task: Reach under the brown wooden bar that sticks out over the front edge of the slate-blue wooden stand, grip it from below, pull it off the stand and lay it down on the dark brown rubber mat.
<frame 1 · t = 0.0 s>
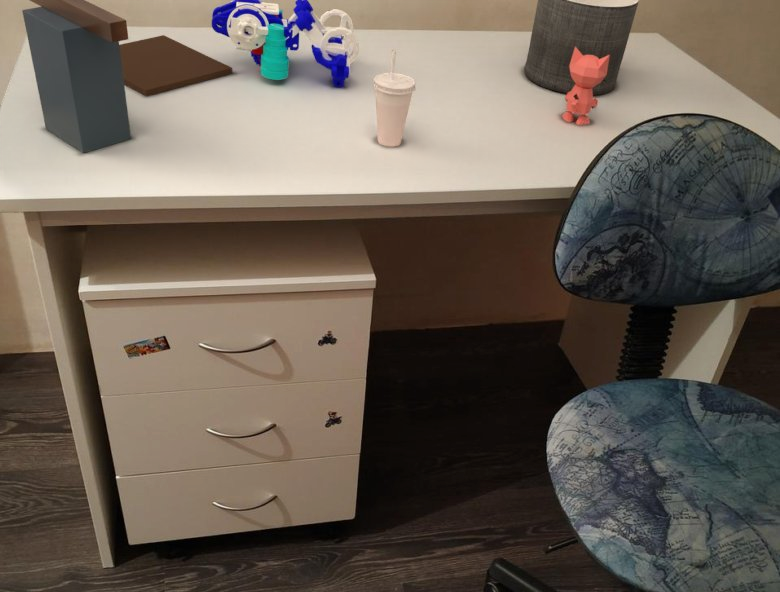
smoothie: (389, 142, 127), on the table
cat figurine: (574, 121, 140), on the table
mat: (155, 66, 142), on the table
planter: (569, 79, 156), on the table
robot toy: (285, 73, 145), on the table
brown wooden bar: (77, 19, 108), point 17 cm above the table, touching stand
stand: (88, 134, 120), on the table
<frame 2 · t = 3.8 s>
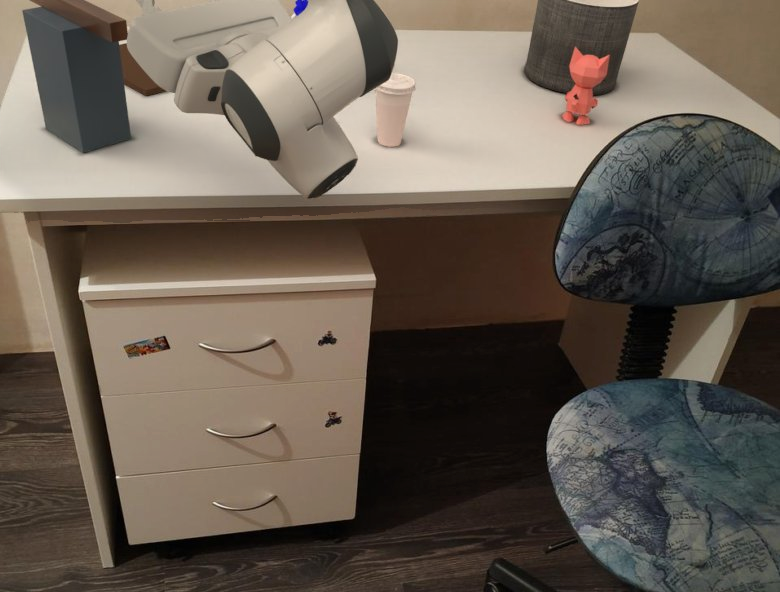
nothing on the table moved.
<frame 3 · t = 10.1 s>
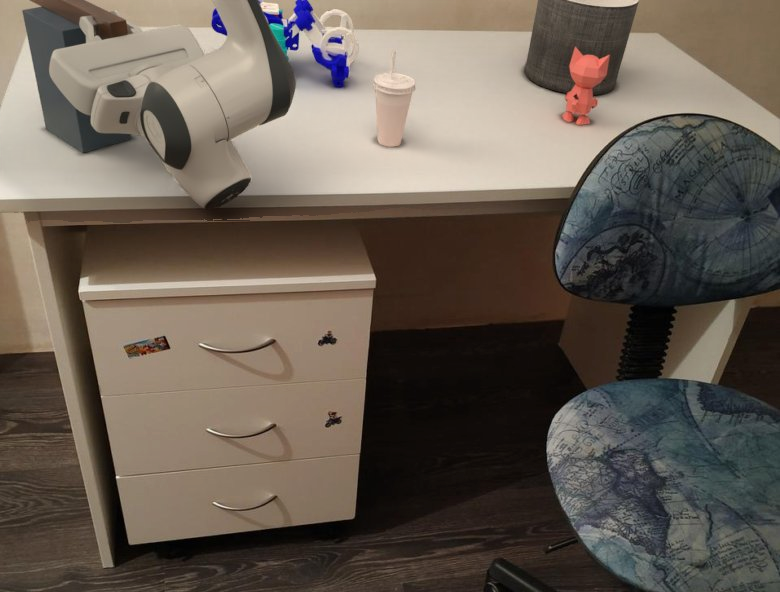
hand: (97, 17, 104), 18 cm above the table, tool pointing upward, fingers closed on brown wooden bar, 2 cm apart
brown wooden bar: (77, 19, 108), point 17 cm above the table, touching gripper, stand
everything else where it was.
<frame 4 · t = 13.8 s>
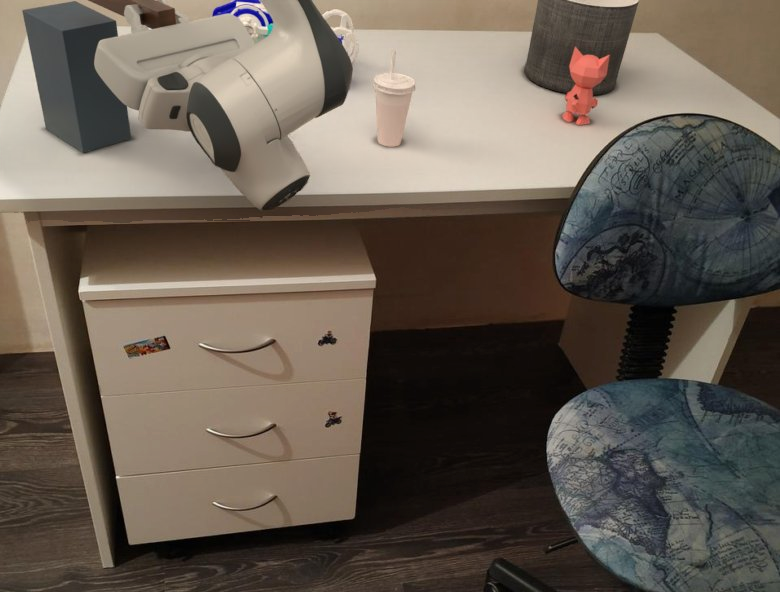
hand: (142, 6, 97), 22 cm above the table, tool pointing upward, fingers closed on brown wooden bar, 2 cm apart
brown wooden bar: (119, 9, 101), point 21 cm above the table, touching gripper
everything else where it was.
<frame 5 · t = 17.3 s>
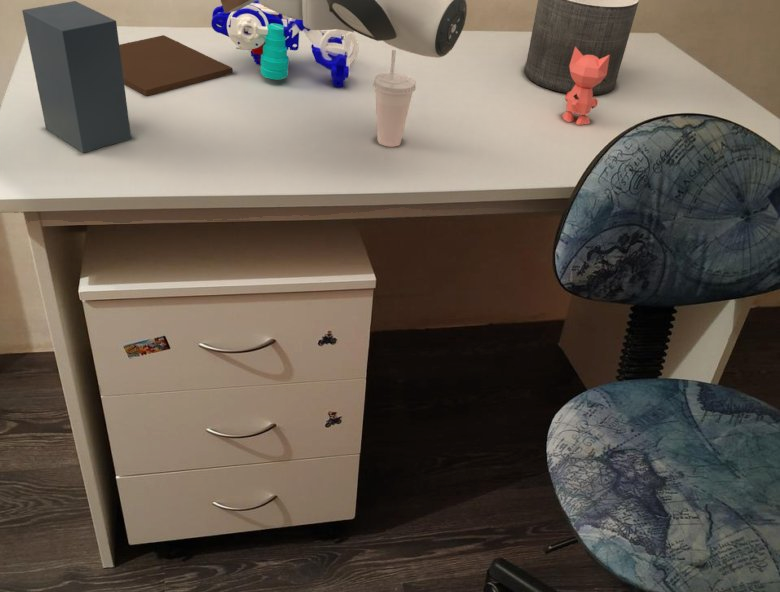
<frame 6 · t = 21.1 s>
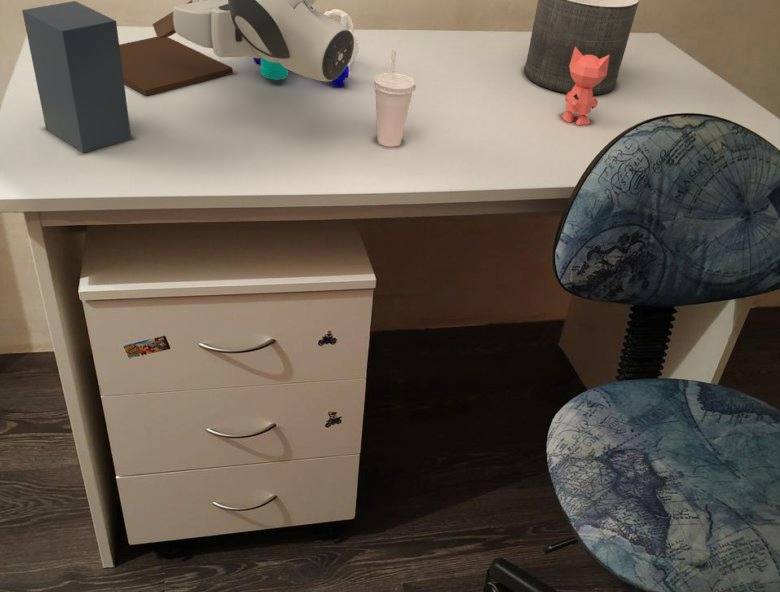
brown wooden bar: (193, 20, 129), point 11 cm above the table, tilted 30°, touching gripper
everything else where it was.
when the fingers open (5 cm above the table, at t = 24.7 s): brown wooden bar drops 2 cm, resting on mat.
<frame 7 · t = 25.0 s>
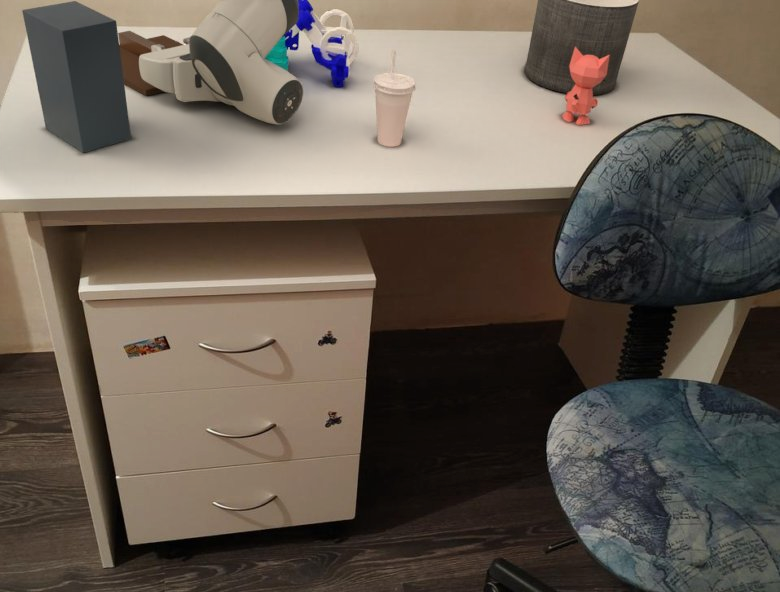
hand: (171, 45, 136), 5 cm above the table, tool horizontal, fingers open, 5 cm apart
brown wooden bar: (158, 62, 141), point 1 cm above the table, touching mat
everything else where it was.
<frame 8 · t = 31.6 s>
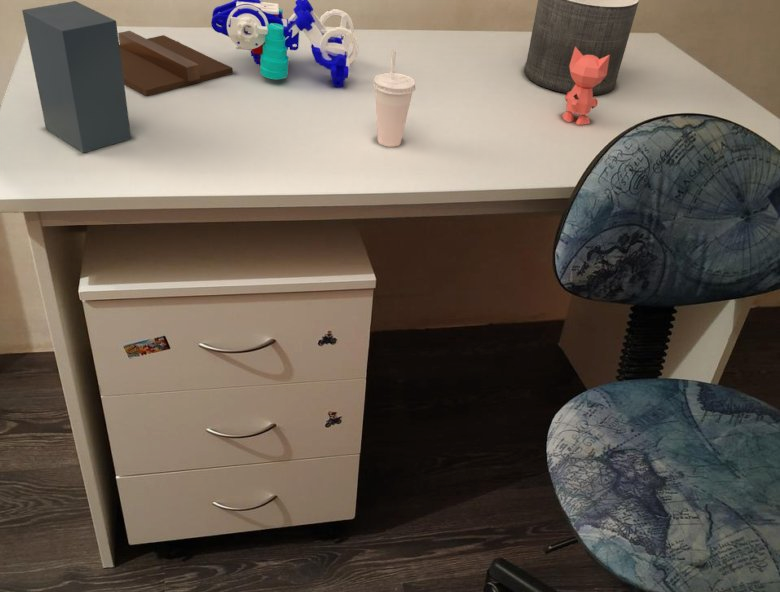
nothing on the table moved.
at the end: brown wooden bar inside the target area on the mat (1.0 cm from its centre), point 1.0 cm above the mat's base; brown wooden bar point 1.0 cm above the table; the gripper is holding nothing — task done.
